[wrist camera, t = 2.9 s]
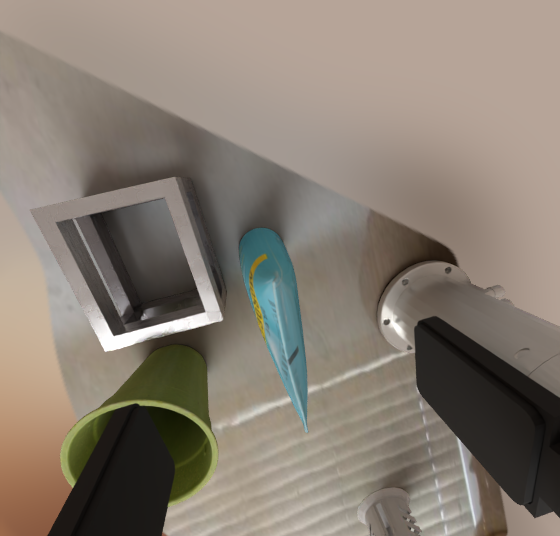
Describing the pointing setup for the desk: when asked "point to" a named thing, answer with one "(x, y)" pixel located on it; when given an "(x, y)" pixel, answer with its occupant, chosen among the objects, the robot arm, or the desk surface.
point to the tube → (277, 309)
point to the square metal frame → (88, 284)
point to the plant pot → (158, 418)
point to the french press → (388, 513)
